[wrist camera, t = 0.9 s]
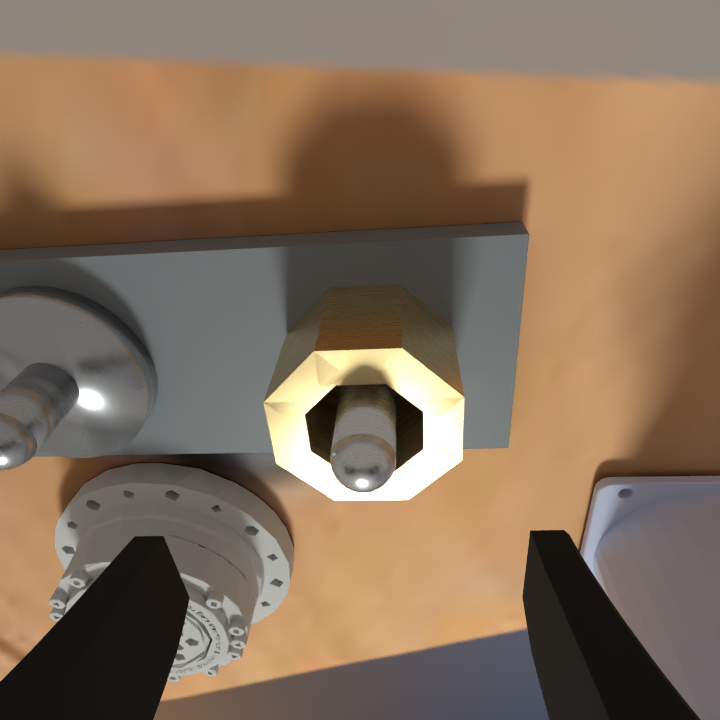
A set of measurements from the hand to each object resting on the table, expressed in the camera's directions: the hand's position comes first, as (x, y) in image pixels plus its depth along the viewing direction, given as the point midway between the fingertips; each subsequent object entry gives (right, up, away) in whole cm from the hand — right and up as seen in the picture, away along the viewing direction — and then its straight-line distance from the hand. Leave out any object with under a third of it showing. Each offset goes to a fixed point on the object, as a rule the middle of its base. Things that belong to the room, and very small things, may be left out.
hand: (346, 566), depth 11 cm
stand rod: (+1, +4, +6) cm, 7 cm away
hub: (-9, +4, +7) cm, 12 cm away
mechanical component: (-8, -4, +14) cm, 16 cm away
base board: (-5, +5, +7) cm, 10 cm away
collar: (+1, +4, +6) cm, 7 cm away
